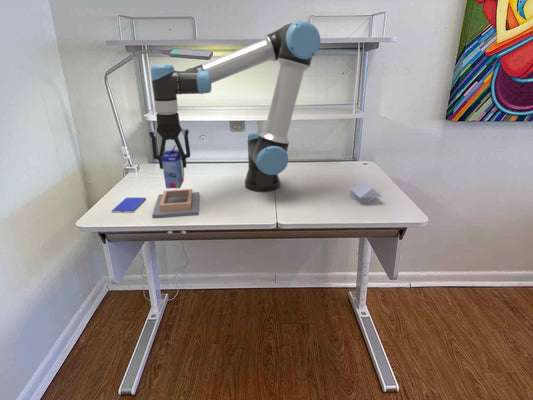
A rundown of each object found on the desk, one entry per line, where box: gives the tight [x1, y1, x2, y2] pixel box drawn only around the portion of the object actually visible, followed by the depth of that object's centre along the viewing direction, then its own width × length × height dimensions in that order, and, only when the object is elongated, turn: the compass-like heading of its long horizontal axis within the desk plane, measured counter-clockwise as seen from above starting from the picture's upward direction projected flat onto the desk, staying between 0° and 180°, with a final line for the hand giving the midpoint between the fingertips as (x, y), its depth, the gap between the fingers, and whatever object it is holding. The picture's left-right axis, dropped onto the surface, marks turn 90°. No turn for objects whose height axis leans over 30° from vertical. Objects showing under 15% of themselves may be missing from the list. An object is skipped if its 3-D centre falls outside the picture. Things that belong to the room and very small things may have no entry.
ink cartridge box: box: [162, 144, 185, 190], centre depth 132 cm, size 10×6×14 cm, turn 4°
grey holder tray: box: [151, 188, 200, 219], centre depth 138 cm, size 16×20×4 cm
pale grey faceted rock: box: [349, 181, 382, 202], centre depth 141 cm, size 9×7×13 cm
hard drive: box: [111, 196, 147, 214], centre depth 138 cm, size 2×8×12 cm
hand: (174, 176), depth 134 cm, fingers closed on ink cartridge box, 6 cm apart
